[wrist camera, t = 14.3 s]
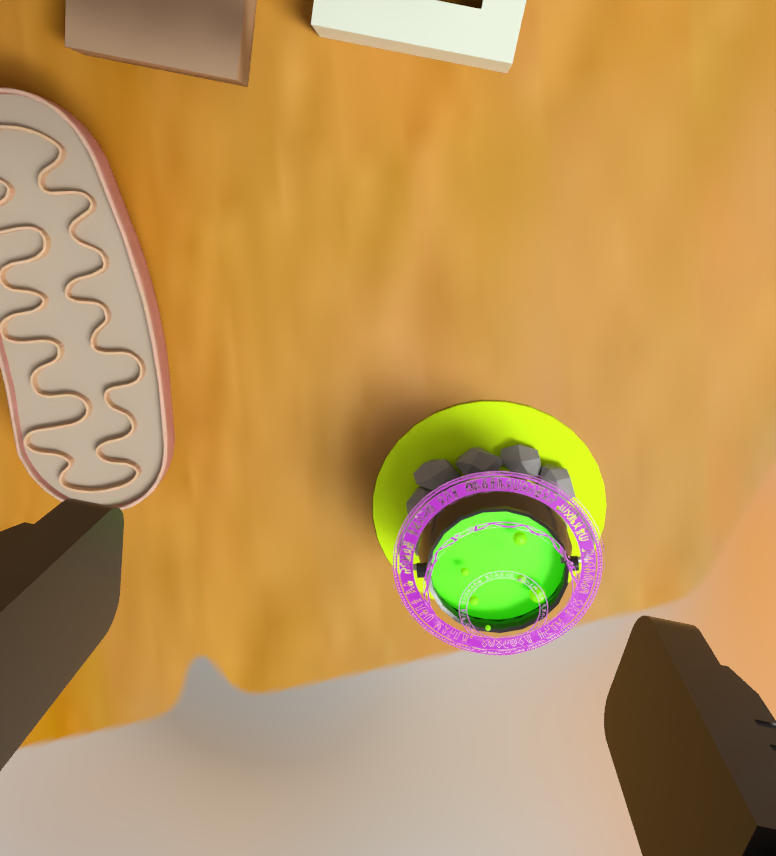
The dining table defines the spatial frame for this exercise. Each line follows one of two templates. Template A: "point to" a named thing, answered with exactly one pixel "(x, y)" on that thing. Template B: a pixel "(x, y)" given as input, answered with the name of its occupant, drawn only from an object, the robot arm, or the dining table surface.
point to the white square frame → (427, 28)
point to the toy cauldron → (491, 520)
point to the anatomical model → (77, 315)
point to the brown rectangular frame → (167, 35)
